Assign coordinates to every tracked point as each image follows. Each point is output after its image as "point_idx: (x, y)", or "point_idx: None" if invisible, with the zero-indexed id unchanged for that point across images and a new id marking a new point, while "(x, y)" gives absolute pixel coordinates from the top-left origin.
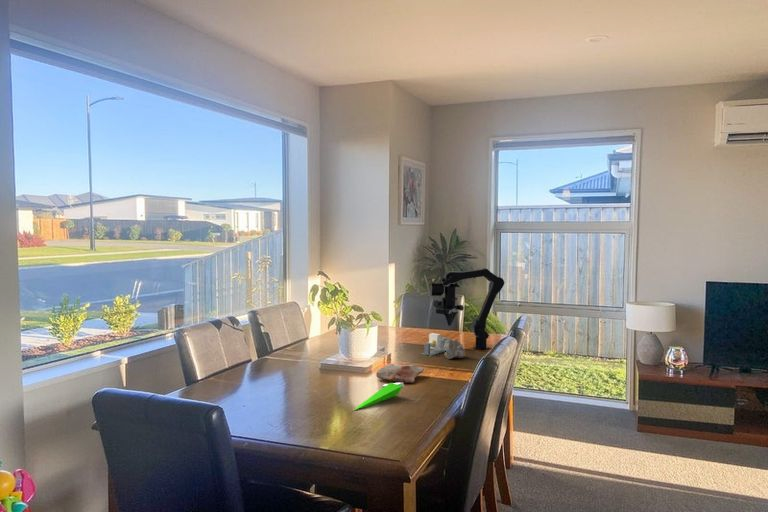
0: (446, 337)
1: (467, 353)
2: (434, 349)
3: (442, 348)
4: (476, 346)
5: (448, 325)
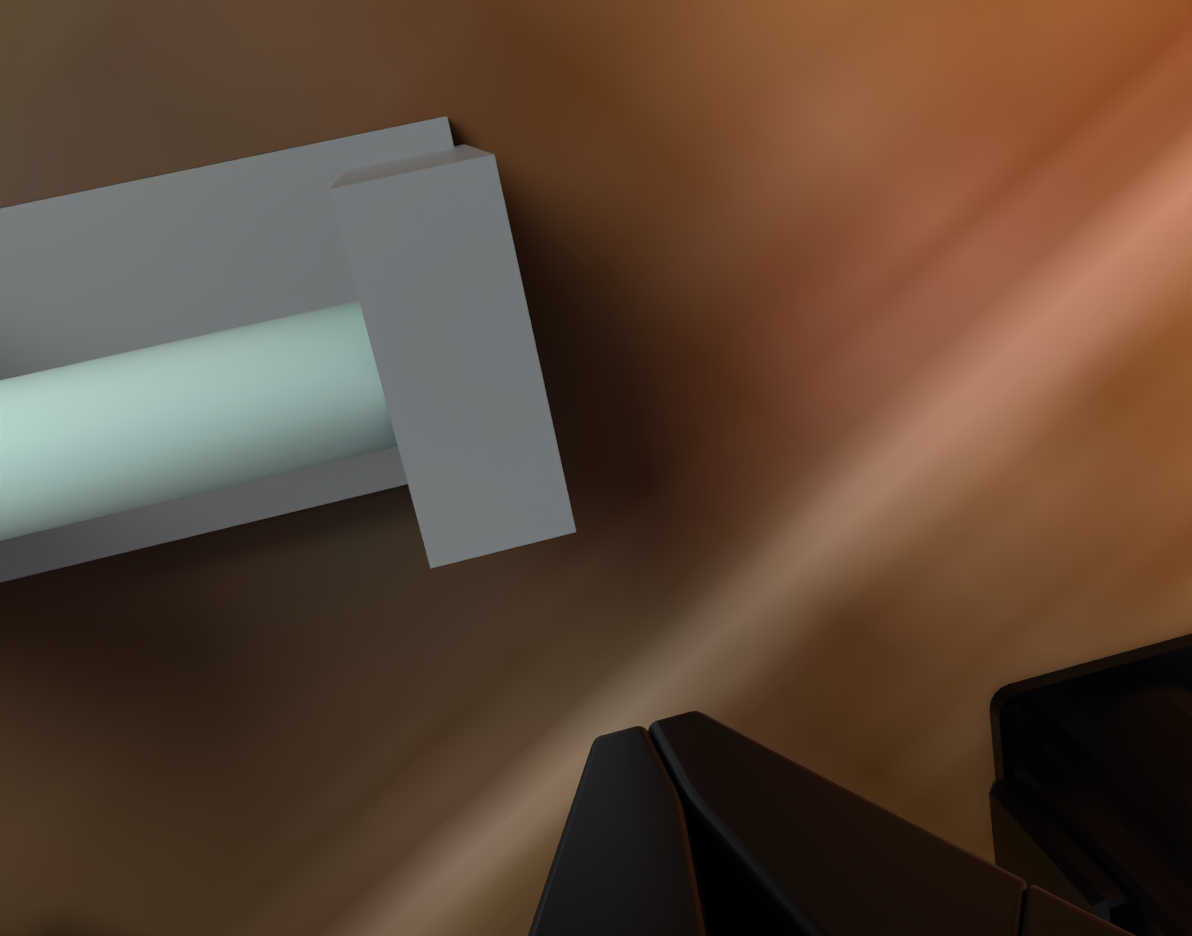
0: (529, 363)
1: None
2: (3, 243)
3: (323, 300)
4: (1012, 837)
5: (594, 750)
